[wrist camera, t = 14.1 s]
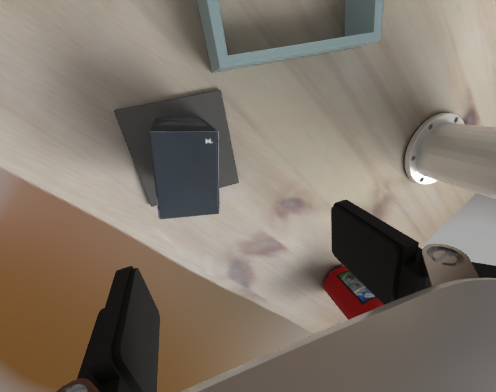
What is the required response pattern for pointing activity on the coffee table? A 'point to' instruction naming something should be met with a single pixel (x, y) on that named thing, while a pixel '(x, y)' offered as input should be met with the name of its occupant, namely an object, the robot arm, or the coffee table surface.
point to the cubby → (356, 34)
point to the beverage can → (350, 293)
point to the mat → (192, 107)
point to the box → (185, 167)
